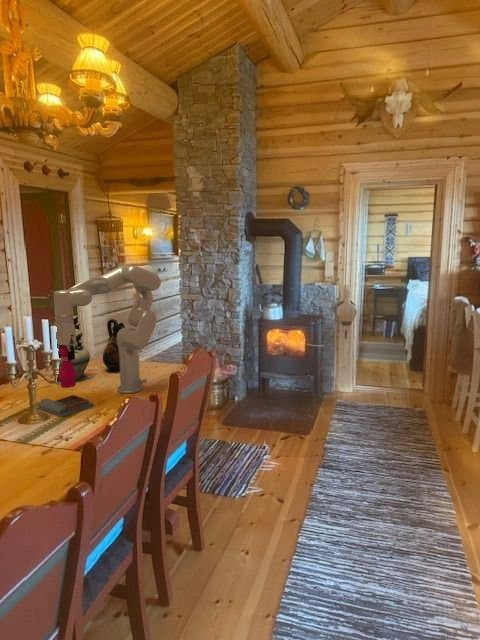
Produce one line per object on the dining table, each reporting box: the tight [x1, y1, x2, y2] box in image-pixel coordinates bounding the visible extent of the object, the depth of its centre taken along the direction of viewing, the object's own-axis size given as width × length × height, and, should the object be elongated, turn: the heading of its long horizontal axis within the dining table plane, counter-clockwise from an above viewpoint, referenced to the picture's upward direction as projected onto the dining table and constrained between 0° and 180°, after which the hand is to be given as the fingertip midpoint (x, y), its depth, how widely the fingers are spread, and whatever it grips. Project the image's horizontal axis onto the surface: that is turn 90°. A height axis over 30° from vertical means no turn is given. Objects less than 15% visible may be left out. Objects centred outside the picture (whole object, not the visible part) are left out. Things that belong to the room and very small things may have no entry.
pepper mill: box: [59, 345, 77, 389], centre depth 200 cm, size 7×7×20 cm
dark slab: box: [37, 394, 95, 418], centre depth 201 cm, size 16×18×4 cm
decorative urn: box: [48, 314, 92, 385], centre depth 244 cm, size 21×21×35 cm
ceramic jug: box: [102, 318, 126, 373], centre depth 262 cm, size 17×15×30 cm
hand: (66, 358), depth 200 cm, fingers closed on pepper mill, 6 cm apart
